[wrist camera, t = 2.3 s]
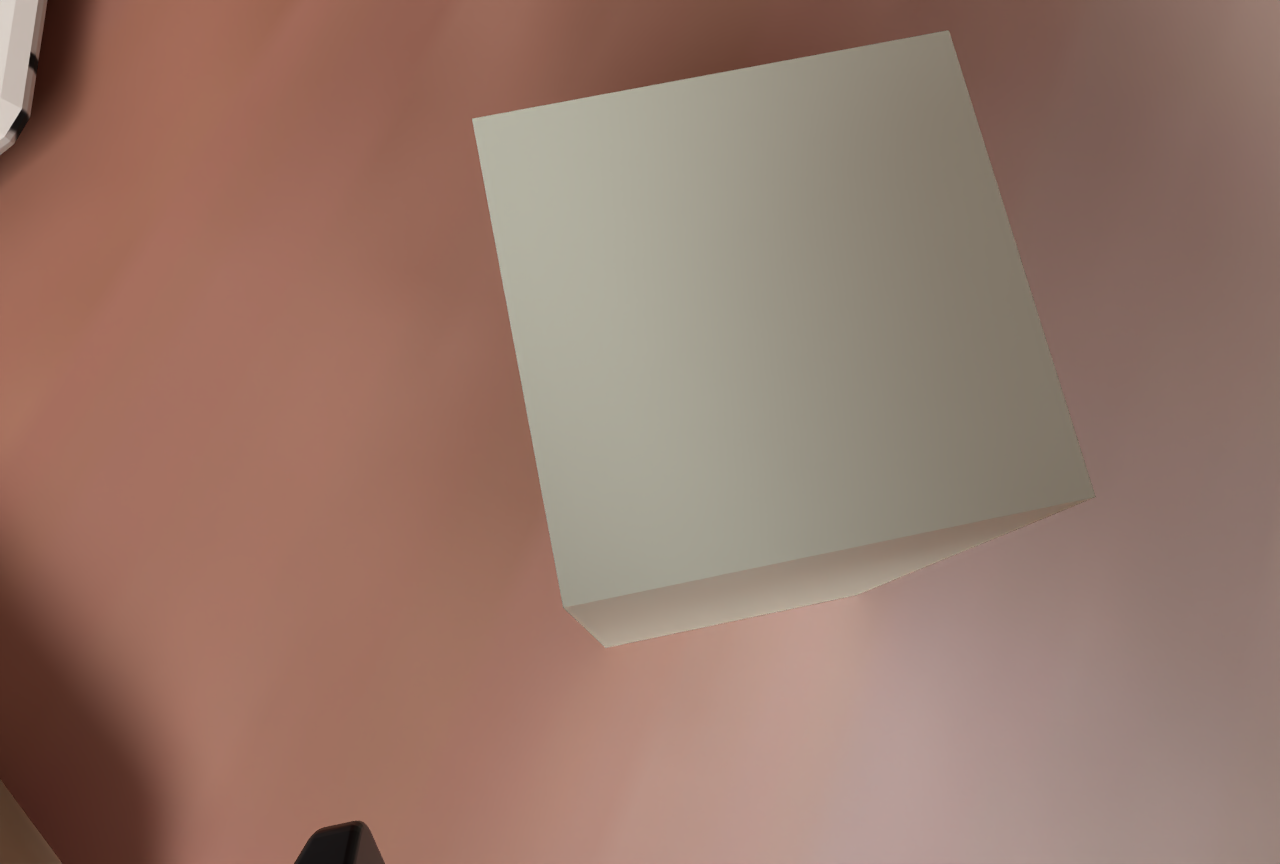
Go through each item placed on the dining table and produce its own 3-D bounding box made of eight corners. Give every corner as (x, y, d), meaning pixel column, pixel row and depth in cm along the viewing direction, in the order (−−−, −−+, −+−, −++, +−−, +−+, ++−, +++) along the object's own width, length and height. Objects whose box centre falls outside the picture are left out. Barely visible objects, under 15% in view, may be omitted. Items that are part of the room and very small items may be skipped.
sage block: (856, 595, 20) (1095, 497, 10) (605, 648, 20) (563, 607, 9) (795, 356, 21) (949, 30, 11) (558, 403, 21) (472, 117, 10)
